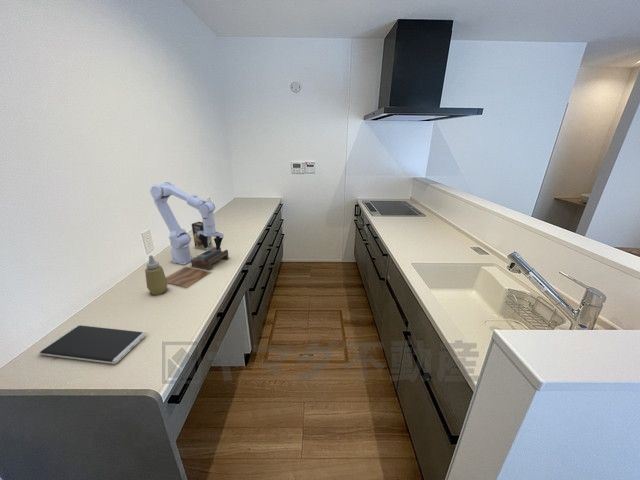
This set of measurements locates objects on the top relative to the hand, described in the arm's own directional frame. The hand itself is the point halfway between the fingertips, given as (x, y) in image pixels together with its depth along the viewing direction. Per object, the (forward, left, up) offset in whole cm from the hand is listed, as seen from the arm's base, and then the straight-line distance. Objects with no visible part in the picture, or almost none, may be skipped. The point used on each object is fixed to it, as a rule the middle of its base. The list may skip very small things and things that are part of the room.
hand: (212, 248), depth 143 cm
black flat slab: (+5, -64, -10) cm, 65 cm away
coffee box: (-22, +17, -10) cm, 30 cm away
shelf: (-3, +1, -10) cm, 10 cm away
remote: (-3, +1, -6) cm, 7 cm away
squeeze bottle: (-4, -32, -10) cm, 34 cm away
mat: (-3, -17, -10) cm, 20 cm away
